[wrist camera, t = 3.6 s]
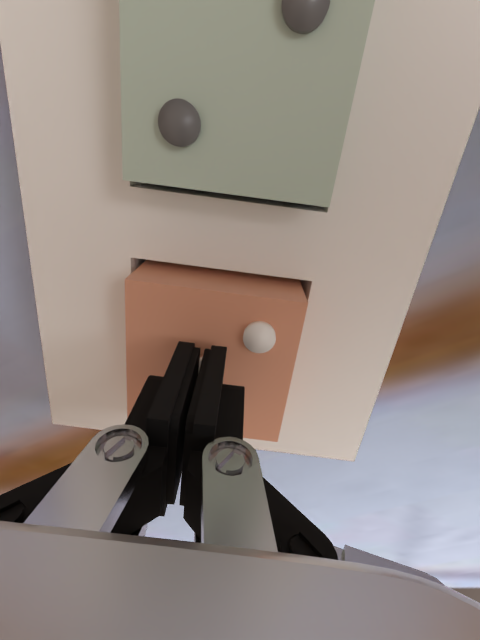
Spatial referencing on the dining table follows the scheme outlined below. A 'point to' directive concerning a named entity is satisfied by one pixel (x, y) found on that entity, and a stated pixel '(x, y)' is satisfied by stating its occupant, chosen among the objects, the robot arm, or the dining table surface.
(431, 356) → the dining table surface
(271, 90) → the tile two
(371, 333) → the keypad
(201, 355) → the tile three
